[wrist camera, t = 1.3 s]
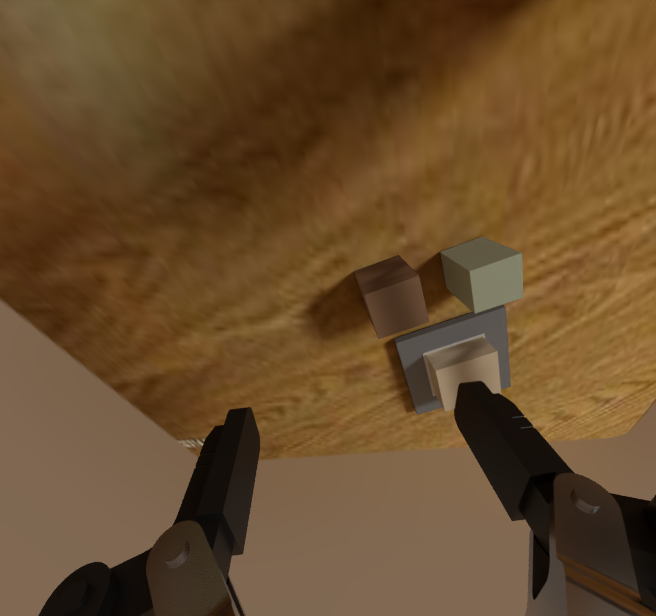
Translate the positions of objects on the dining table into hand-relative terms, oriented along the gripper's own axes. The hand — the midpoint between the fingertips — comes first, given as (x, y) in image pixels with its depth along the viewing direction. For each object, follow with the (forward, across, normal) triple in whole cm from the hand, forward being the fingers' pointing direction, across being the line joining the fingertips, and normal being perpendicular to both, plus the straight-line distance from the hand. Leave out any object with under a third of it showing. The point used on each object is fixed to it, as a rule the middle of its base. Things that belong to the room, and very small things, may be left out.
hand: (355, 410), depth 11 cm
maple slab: (+19, -15, +16) cm, 29 cm away
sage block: (+20, -15, +2) cm, 25 cm away
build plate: (+20, -15, +16) cm, 30 cm away
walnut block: (+20, -6, +4) cm, 22 cm away
